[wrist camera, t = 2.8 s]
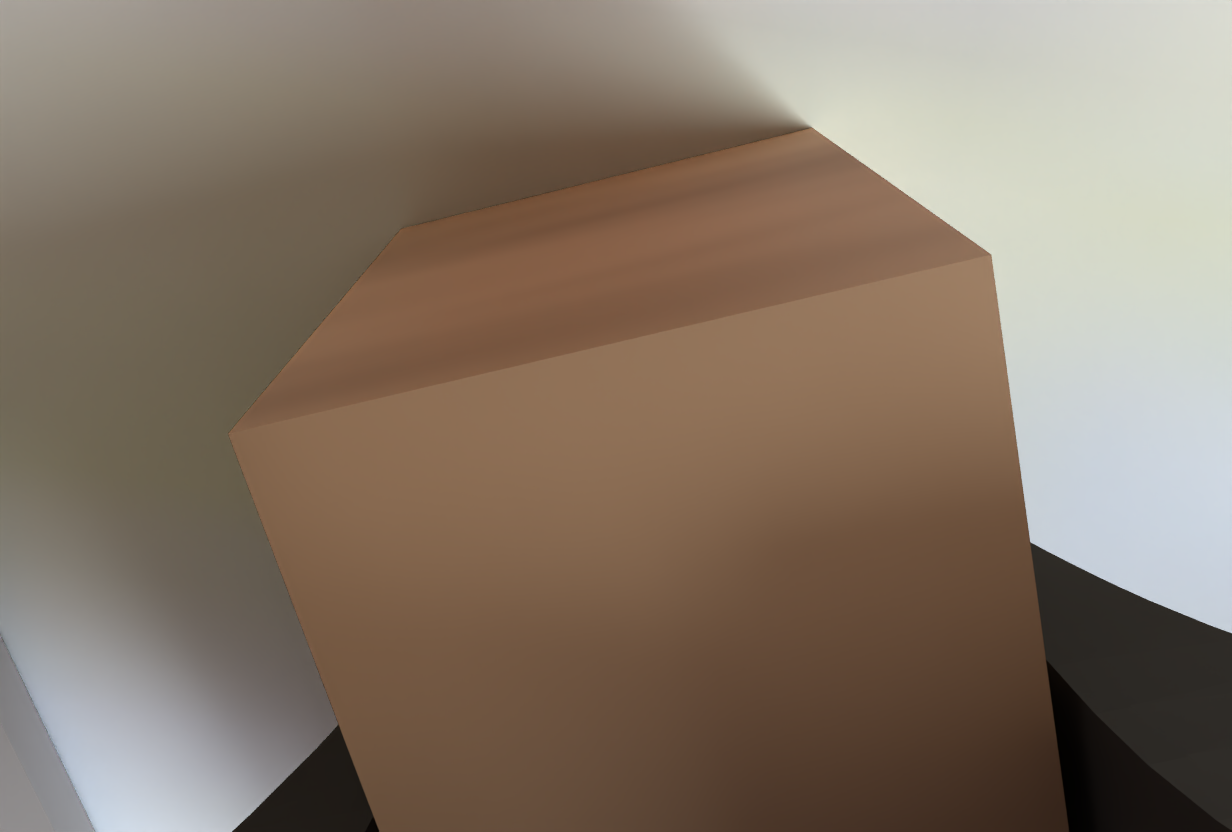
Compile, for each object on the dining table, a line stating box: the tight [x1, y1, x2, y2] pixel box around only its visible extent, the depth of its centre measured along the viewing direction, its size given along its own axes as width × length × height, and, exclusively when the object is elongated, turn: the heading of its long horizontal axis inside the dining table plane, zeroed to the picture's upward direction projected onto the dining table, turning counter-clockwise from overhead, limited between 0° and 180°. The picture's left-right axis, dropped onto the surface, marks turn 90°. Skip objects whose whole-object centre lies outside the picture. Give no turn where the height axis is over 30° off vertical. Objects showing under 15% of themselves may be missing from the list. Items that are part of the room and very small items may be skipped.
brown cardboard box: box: [228, 128, 1069, 832], centre depth 10 cm, size 9×4×6 cm, turn 14°
